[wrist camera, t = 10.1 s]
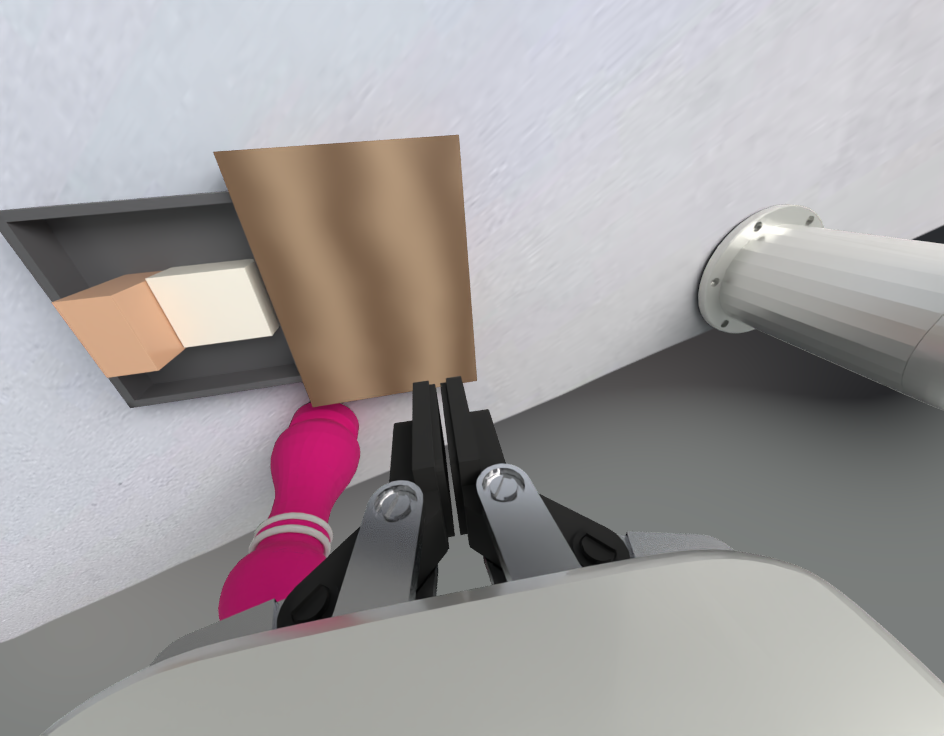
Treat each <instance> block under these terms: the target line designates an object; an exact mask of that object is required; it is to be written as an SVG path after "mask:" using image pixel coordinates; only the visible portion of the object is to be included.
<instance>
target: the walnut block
mask: <svg viewBox="0 0 944 736" xmlns="http://www.w3.org/2000/svg"><path fill="white" fill-rule="evenodd" d="M213 153H214V155H215V158H216V161H217V163H218V166H219V168H220V171H221V173H222V176H223V178H224V181H225V184H226V186H227V189H228V191H229V194H230V196H231V199H232V202H233V204H234V207H235V209H236V212H237V214H238V217H239V219H240V222H241V225H242V227H243V230H244V232H245V235H246V237H247V240H248V243H249V245H250V248H251V250H252V253H253V255H254V258H255V260H256V263H257V266H258V268H259V271H260V273H261V276H262V278H263V281H264V284H265V286H266V289H267V291H268V294H269V296H270V299H271V301H272V304H273V307H274V309H275V312H276V314H277V317H278V319H279V322H280V325H281V327H282V330H283V332H284V335H285V337H286V340H287V342H288V345H289V348H290V350H291V353H292V355H293V358H294V360H295V363H296V366H297V368H298V371H299V373H300V376H301V378H302V381H303V383H304V386H305V389H306V391H307V394H308V396H309V399H310V401H311V404H312V407H318V406H324V405H330V404H336V403H342V402H349V401H355V400H361V399H367V398H373V397H379V396H386V395H392V394H398V393H404V392H410V391H413V383H414V382H421V381H429V385H430V384H435V386H436V387H441V386H440V383H444V382H446V378H450V377H457V376H461V378H462V382H463V383H466V382H472V381H477V373H476V360H475V346H474V333H473V319H472V306H471V292H470V279H469V265H468V252H467V238H466V225H465V211H464V198H463V184H462V171H461V157H460V144H459V135H449V136H434V137H420V138H406V139H391V140H377V141H362V142H348V143H333V144H319V145H305V146H290V147H276V148H261V149H247V150H232V151H218V152H213Z"/></svg>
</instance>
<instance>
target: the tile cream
mask: <svg viewBox="0 0 944 736" xmlns="http://www.w3.org/2000/svg"><path fill="white" fill-rule="evenodd" d="M145 279H146V281H147V283H148V285H149V286H150V288H151V290H152V292H153V294H154V295H155V297H156V299H157V301H158V302H159V304H160V306H161V308H162V309H163V311H164V313H165V315H166V316H167V318H168V320H169V322H170V323H171V325H172V327H173V329H174V330H175V332H176V334H177V336H178V337H179V339H180V341H181V343H182V344H183V346H184V348H185V347H192V346H200V345H207V344H215V343H222V342H229V341H237V340H244V339H252V338H259V337H266V336H272V335H273V334H274V333H275V332H276V330H277V329H278V328H279V326H280V325H279V323H278V320H277V318H276V315H275V313H274V310H273V307H272V305H271V302H270V300H269V297H268V295H267V292H266V290H265V287H264V285H263V282H262V279H261V277H260V274H259V272H258V269H257V267H256V264H255V262H254V259H245V260H236V261H226V262H217V263H208V264H198V265H189V266H180V267H171V268H169V269H167V270H164V271H162V272H159V273H157V274H155V275H152V276H150V277H148V278H145Z"/></svg>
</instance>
